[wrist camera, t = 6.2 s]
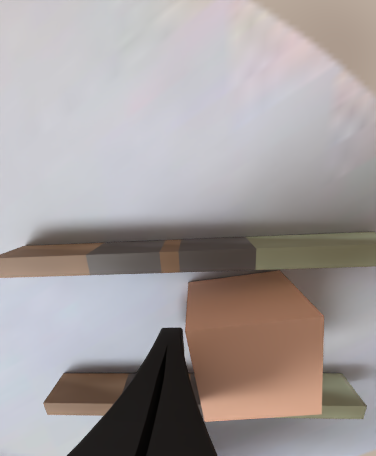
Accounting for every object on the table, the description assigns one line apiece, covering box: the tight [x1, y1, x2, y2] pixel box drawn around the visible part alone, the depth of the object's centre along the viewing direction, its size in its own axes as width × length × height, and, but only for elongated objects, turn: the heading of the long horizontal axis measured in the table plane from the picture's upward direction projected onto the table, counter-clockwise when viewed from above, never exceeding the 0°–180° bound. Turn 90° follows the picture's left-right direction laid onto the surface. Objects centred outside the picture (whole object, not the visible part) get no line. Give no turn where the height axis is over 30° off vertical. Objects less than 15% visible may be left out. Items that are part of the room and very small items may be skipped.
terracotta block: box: [185, 270, 324, 422], centre depth 10 cm, size 6×6×4 cm
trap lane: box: [0, 232, 376, 419], centre depth 12 cm, size 12×22×2 cm, turn 93°
